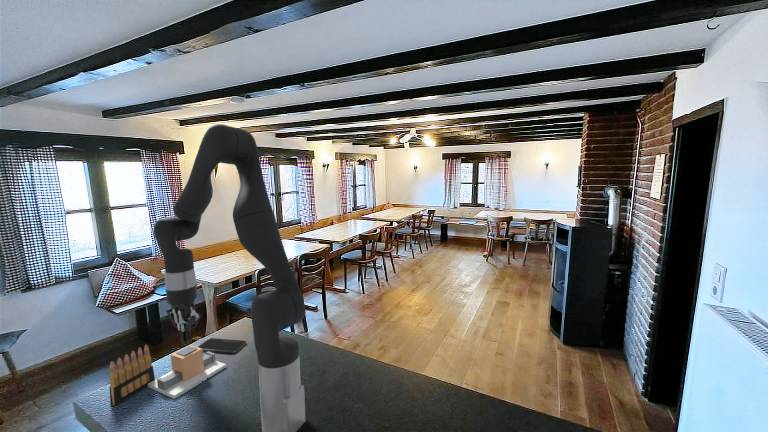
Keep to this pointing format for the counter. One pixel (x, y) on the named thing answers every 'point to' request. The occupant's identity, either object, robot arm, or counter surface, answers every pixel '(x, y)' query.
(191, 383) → the rail board
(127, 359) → the ammunition clip
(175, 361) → the block
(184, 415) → the counter surface
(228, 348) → the phone
